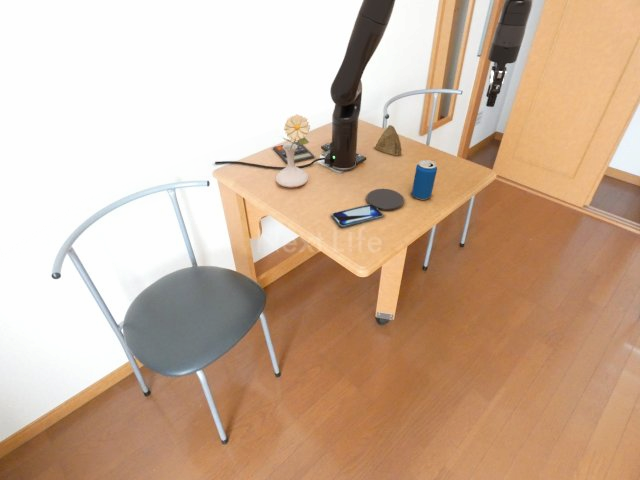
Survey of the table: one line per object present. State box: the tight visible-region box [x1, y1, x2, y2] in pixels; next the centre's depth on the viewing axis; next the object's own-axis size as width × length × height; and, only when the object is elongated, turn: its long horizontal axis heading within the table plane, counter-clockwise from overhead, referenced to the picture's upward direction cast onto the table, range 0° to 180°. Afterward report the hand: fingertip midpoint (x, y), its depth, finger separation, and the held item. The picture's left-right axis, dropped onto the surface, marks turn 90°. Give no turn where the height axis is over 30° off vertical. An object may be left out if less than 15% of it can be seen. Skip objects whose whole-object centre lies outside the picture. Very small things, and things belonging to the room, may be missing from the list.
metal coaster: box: [366, 188, 404, 212], centre depth 123 cm, size 12×12×1 cm
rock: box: [374, 124, 402, 157], centre depth 149 cm, size 11×9×10 cm
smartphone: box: [331, 204, 384, 228], centre depth 116 cm, size 7×1×15 cm
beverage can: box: [411, 159, 438, 201], centre depth 122 cm, size 6×6×12 cm
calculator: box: [273, 141, 315, 165], centre depth 150 cm, size 12×1×15 cm
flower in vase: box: [275, 114, 311, 189], centre depth 124 cm, size 13×11×25 cm
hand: (489, 101), depth 112 cm, fingers open, 8 cm apart
